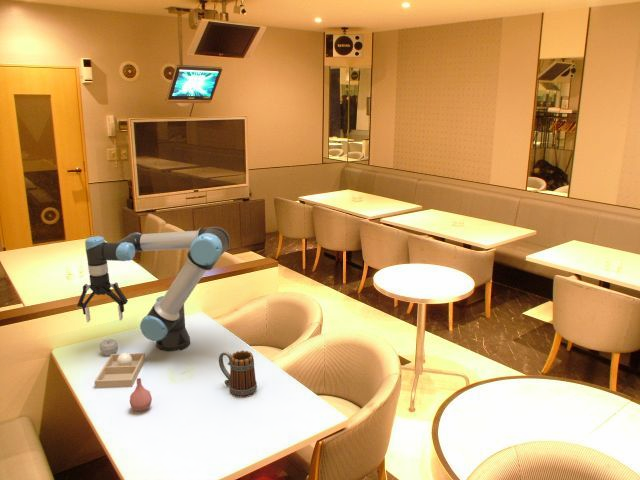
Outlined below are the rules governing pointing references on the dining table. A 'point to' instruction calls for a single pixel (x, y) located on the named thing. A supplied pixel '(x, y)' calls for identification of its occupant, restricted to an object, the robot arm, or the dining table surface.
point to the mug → (239, 373)
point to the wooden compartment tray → (120, 372)
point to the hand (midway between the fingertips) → (105, 320)
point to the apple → (108, 347)
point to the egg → (124, 359)
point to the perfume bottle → (140, 397)
